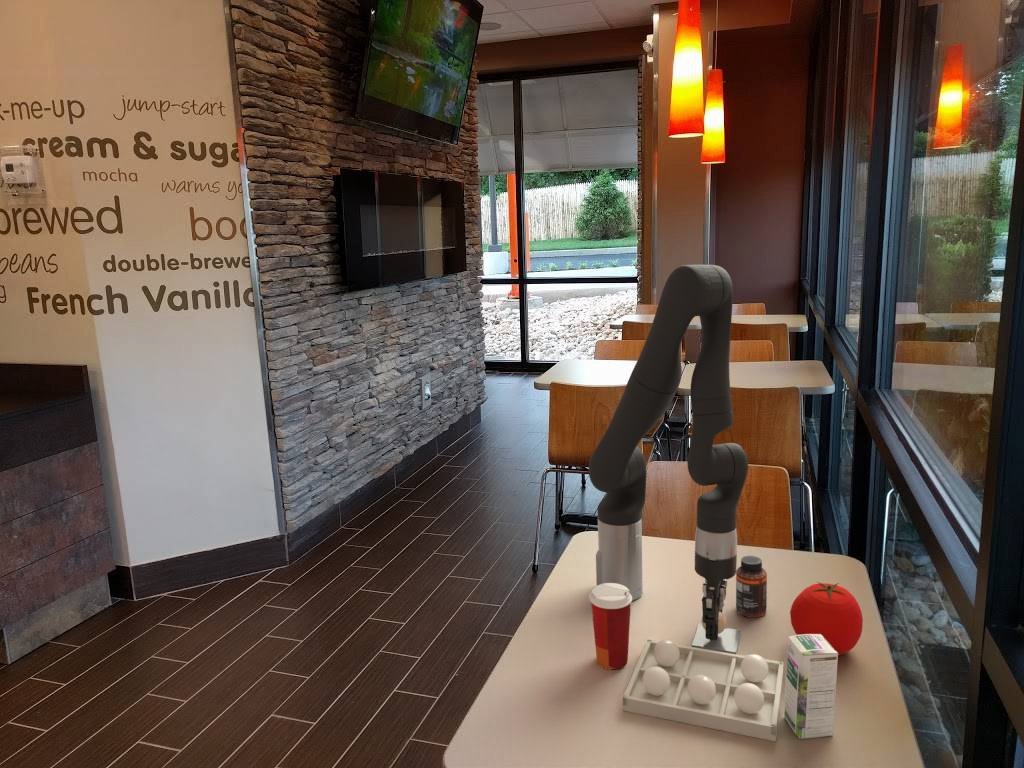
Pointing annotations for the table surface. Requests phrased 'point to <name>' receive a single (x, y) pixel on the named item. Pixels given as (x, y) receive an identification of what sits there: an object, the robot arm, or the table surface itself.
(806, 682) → the syrup box
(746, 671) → the white egg back right
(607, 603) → the paper cup
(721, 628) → the brown egg
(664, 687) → the carton
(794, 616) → the tomato
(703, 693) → the white egg front middle
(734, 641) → the slate coaster
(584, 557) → the table surface
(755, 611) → the supplement bottle
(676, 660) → the white egg back left
